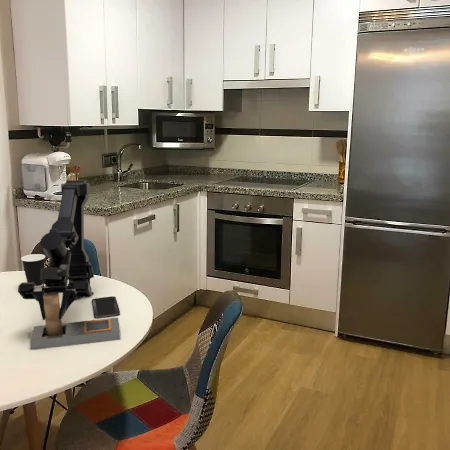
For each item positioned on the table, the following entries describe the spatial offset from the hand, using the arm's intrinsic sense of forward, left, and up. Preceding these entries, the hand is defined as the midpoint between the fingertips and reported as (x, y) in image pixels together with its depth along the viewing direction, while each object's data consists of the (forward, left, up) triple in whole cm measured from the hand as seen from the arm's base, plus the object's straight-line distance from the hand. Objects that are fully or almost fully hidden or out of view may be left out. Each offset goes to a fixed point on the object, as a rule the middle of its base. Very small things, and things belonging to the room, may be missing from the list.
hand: (51, 319), depth 129 cm
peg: (-1, -1, -7) cm, 7 cm away
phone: (-23, -9, -7) cm, 26 cm away
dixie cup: (-18, -44, -7) cm, 48 cm away
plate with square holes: (-6, +2, -7) cm, 9 cm away
